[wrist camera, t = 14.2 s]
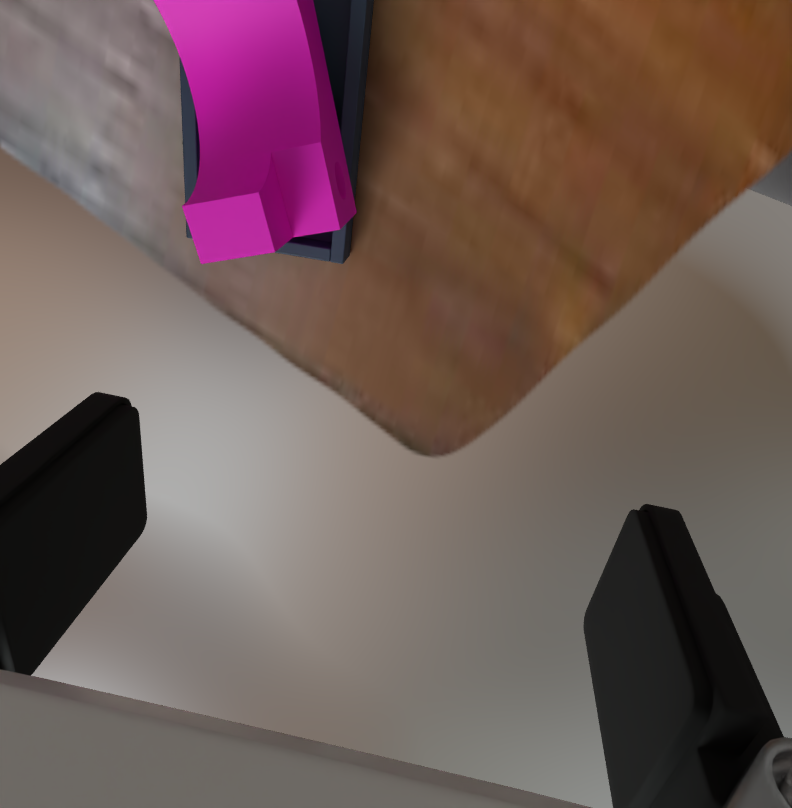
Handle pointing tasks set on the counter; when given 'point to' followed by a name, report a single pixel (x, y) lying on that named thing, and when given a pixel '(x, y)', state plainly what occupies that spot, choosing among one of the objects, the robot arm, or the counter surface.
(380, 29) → the counter surface
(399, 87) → the counter surface
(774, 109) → the counter surface
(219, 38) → the toy block
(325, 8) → the rectangular tray
